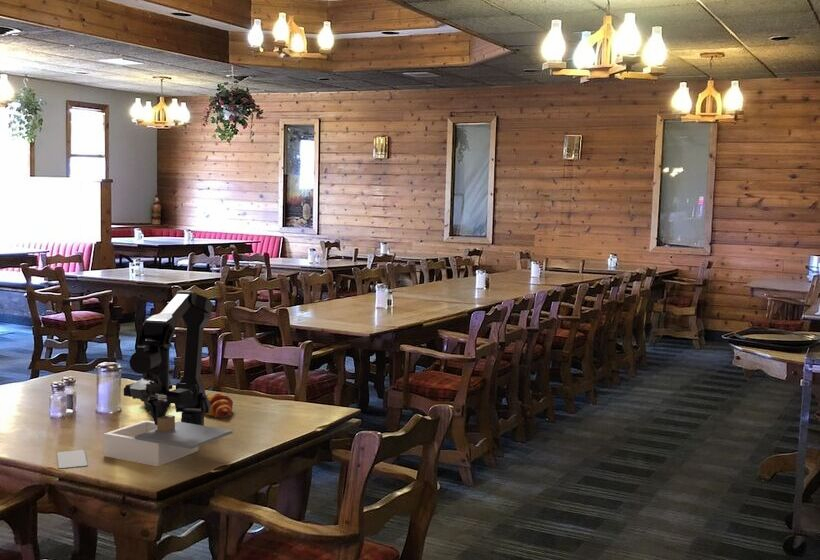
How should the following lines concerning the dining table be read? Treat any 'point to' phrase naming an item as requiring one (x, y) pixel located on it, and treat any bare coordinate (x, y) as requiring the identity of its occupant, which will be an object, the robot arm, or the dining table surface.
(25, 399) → the dining table surface
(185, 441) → the lid
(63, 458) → the smartphone
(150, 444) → the lidded box
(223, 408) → the croissant
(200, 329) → the robot arm
